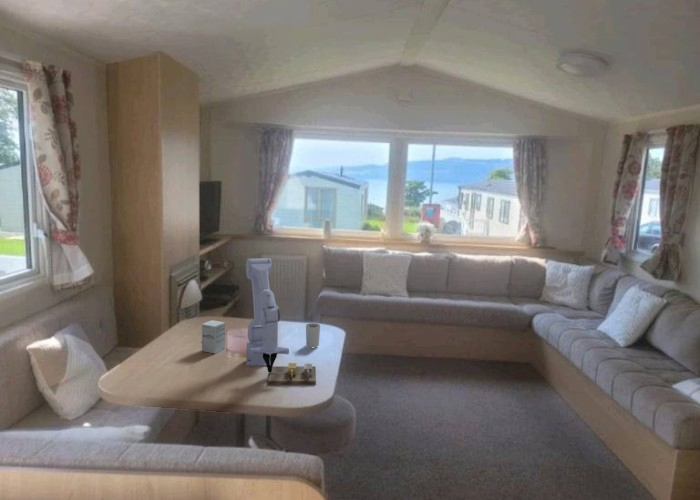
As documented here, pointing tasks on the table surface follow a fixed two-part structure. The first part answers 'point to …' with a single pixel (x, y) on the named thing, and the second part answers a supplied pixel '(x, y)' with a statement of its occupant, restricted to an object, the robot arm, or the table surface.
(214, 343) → the supplement box
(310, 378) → the gauge board
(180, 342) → the table surface
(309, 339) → the drinking glass
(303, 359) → the table surface
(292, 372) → the brass leg
